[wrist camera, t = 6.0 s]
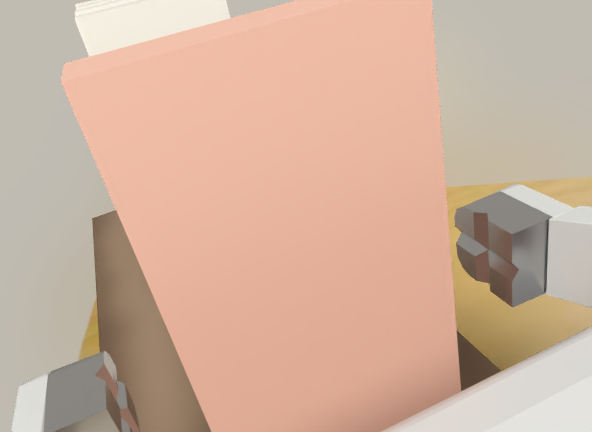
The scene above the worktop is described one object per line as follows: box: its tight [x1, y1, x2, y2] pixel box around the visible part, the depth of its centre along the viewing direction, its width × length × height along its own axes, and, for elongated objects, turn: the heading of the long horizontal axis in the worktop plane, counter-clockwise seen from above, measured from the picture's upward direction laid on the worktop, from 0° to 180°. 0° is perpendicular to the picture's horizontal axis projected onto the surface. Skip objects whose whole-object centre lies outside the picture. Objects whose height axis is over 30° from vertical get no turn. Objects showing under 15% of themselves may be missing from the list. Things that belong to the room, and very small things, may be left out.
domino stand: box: [92, 210, 501, 432], centre depth 27 cm, size 14×34×10 cm, turn 22°
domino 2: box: [61, 0, 461, 432], centre depth 10 cm, size 5×2×14 cm, turn 112°
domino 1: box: [75, 0, 230, 57], centre depth 21 cm, size 5×2×14 cm, turn 112°
